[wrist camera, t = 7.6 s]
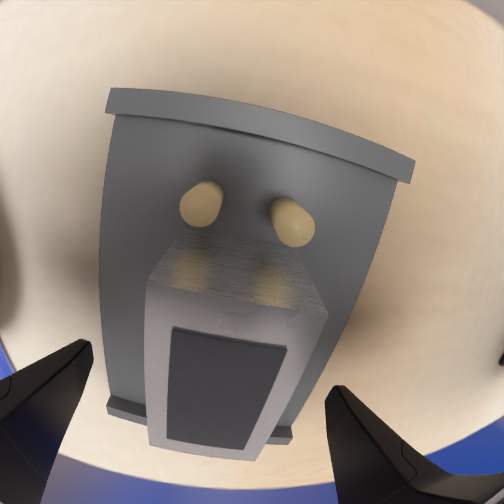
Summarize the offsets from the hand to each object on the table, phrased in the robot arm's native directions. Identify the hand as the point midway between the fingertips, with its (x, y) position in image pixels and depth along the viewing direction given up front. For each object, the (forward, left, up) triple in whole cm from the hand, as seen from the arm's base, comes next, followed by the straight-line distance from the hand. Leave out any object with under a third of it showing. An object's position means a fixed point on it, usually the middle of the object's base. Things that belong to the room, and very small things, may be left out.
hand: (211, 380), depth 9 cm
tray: (0, 0, -5) cm, 5 cm away
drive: (0, 0, -4) cm, 4 cm away
